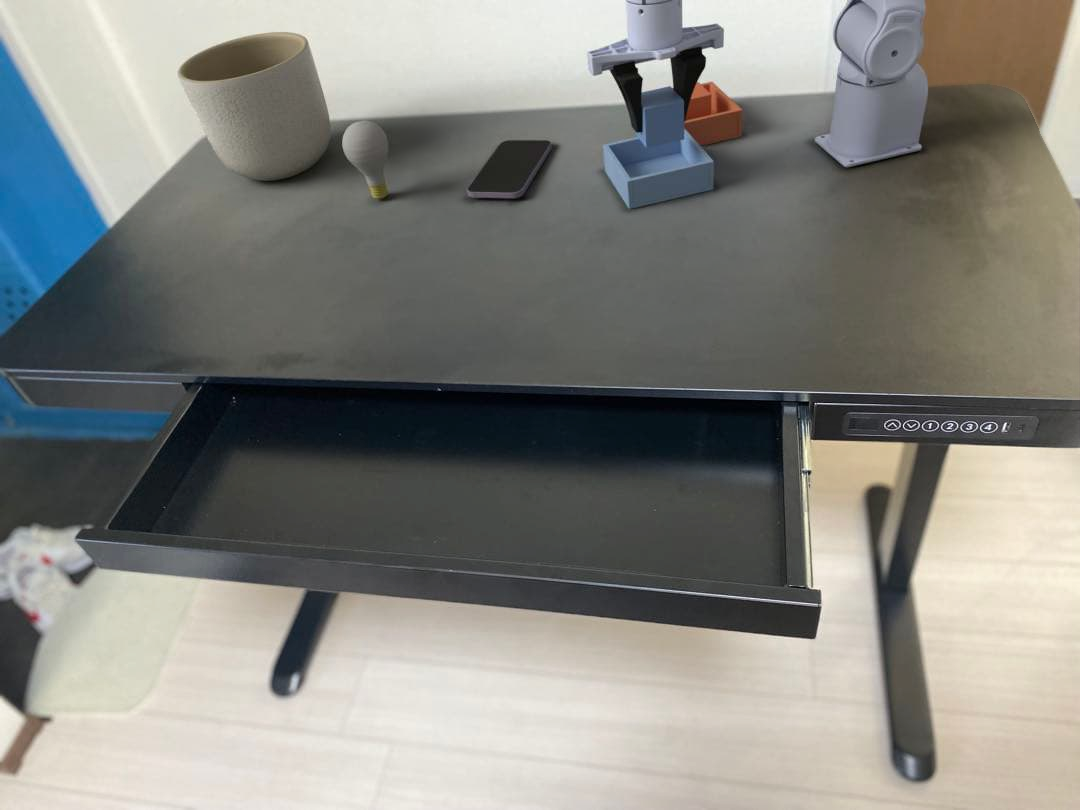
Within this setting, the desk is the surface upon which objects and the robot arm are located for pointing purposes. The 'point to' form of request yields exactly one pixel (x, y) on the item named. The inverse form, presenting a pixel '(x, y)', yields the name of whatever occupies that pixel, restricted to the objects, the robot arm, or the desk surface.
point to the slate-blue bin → (658, 170)
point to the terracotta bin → (716, 119)
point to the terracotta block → (699, 103)
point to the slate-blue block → (661, 117)
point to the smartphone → (510, 169)
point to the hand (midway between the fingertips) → (658, 124)
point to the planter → (260, 104)
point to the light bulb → (368, 153)
